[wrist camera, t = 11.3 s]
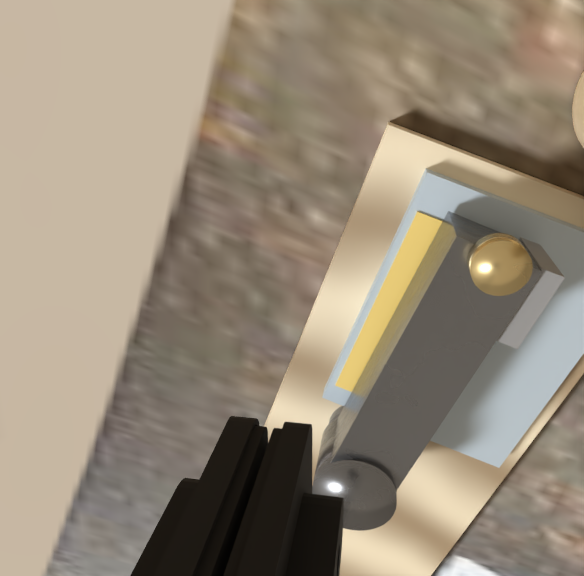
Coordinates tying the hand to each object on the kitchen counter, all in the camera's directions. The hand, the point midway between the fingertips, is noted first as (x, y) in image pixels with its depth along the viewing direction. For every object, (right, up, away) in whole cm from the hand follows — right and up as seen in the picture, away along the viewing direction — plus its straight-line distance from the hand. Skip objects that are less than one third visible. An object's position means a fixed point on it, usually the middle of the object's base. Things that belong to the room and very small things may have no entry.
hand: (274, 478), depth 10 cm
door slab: (+8, +2, +12) cm, 14 cm away
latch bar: (+5, +1, +12) cm, 13 cm away
